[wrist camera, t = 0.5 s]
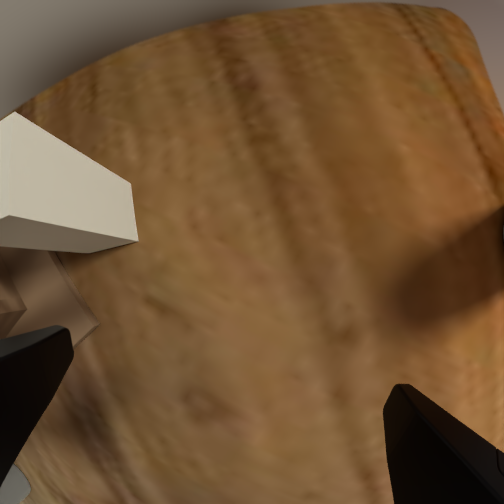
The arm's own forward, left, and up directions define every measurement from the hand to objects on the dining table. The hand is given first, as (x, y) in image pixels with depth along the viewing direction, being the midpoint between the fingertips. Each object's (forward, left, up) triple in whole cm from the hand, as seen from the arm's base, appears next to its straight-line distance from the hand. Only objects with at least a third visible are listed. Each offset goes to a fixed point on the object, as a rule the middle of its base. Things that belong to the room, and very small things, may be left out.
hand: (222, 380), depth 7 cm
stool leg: (+1, +12, -14) cm, 18 cm away
